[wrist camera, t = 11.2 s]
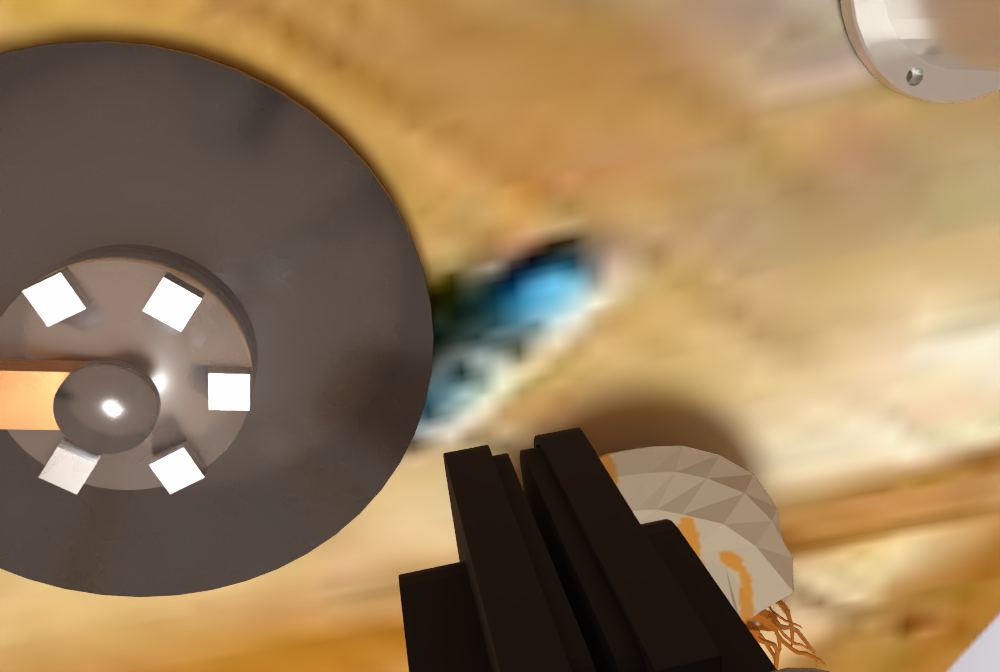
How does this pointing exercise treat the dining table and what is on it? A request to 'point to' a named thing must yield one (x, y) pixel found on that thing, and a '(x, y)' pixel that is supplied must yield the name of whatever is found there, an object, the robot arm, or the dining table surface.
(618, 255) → the dining table surface
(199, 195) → the dark gray metal disc
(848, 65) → the dining table surface
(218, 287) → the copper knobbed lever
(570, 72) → the dining table surface
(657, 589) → the robot arm
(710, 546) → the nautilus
